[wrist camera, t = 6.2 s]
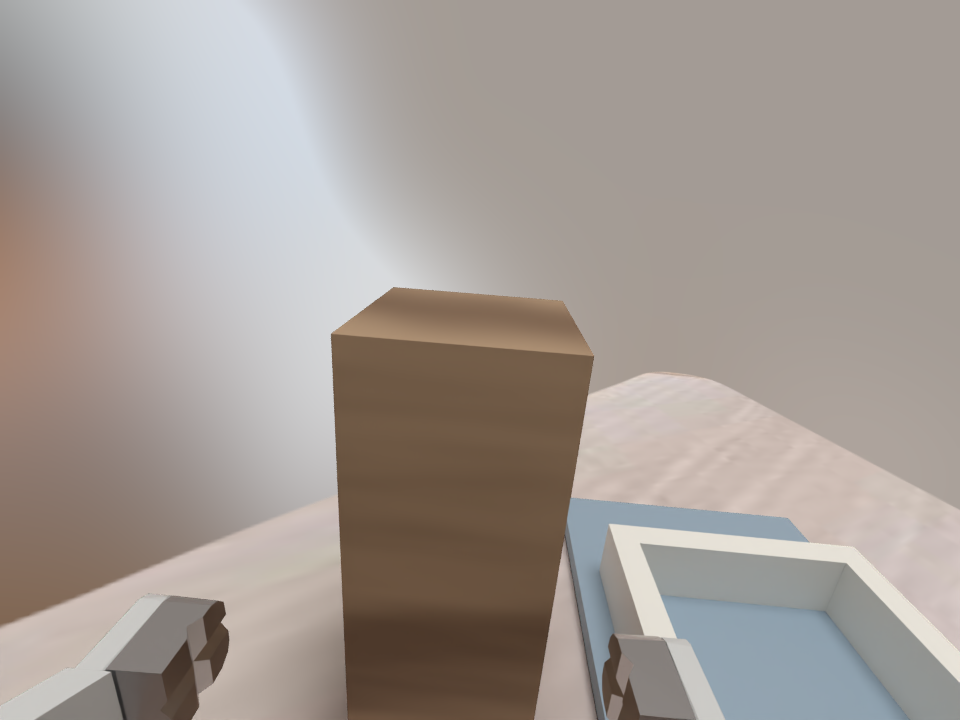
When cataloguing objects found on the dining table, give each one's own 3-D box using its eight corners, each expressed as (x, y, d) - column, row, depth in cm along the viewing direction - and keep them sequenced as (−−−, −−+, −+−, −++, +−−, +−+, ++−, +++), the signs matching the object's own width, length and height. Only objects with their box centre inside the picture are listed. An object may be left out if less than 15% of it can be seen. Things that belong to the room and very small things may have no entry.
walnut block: (523, 785, 13) (593, 356, 8) (350, 765, 13) (331, 333, 8) (518, 627, 17) (562, 301, 13) (392, 615, 18) (393, 287, 13)
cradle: (1248, 1079, 9) (1369, 1005, 8) (648, 1004, 9) (683, 922, 8) (783, 530, 24) (802, 478, 23) (560, 509, 24) (568, 456, 23)
